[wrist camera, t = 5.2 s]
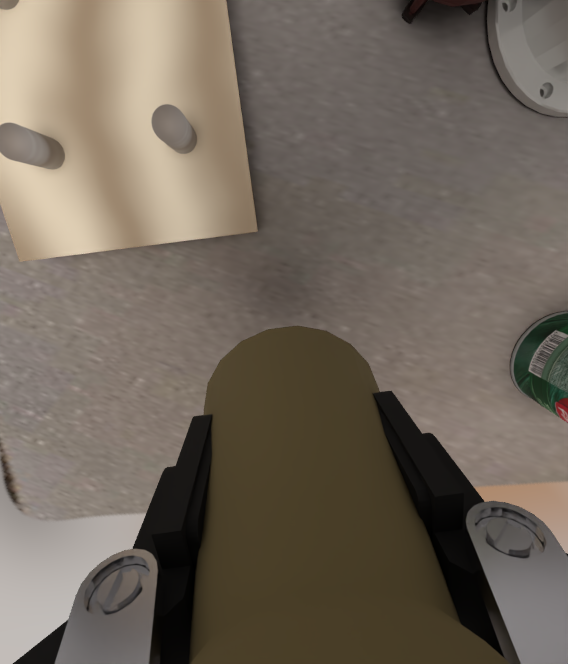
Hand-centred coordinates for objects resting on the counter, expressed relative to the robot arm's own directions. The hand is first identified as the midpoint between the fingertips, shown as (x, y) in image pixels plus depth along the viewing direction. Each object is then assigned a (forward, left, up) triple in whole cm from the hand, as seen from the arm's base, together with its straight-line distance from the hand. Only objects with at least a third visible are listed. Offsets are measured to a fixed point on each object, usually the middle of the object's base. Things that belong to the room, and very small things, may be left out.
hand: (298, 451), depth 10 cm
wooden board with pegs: (+7, -15, -18) cm, 24 cm away
